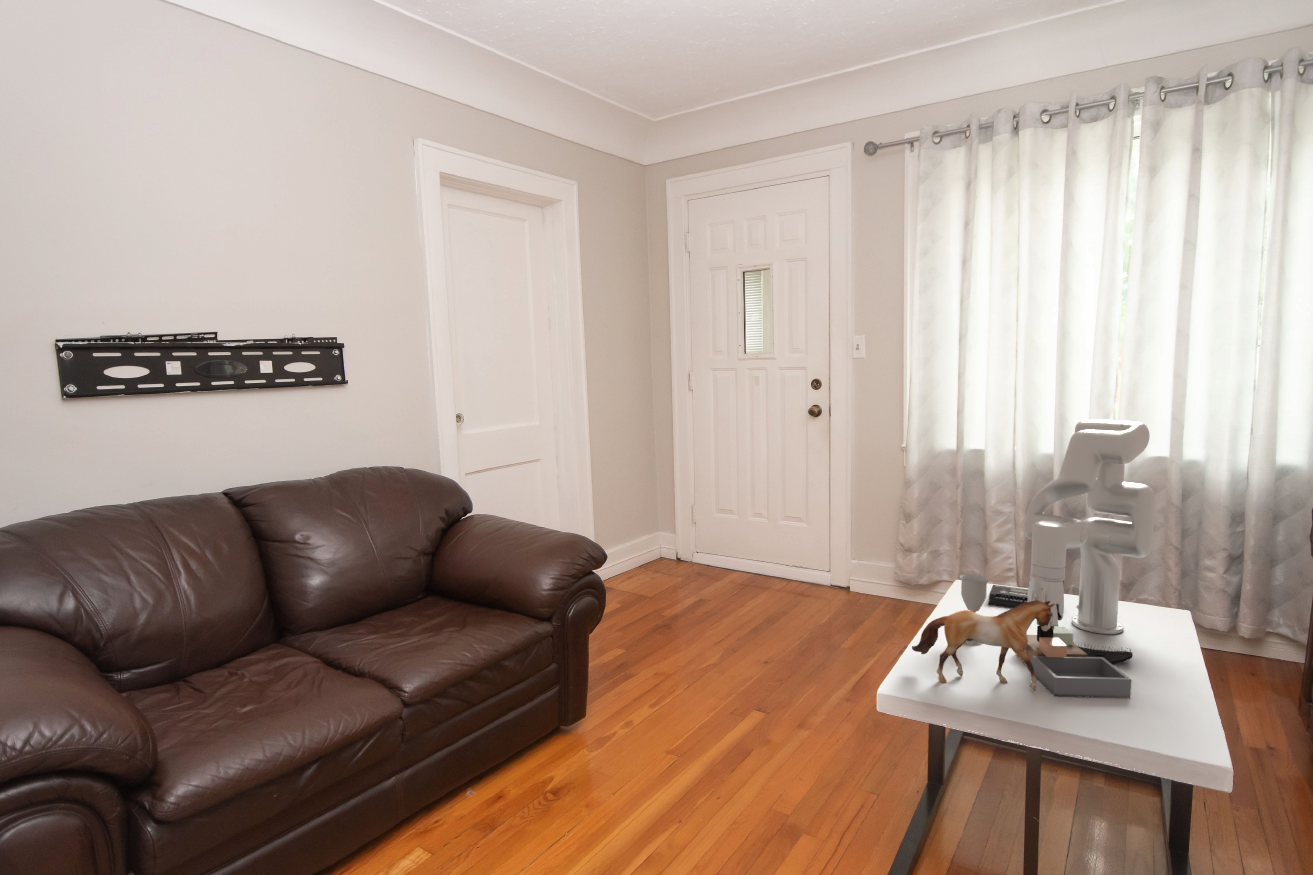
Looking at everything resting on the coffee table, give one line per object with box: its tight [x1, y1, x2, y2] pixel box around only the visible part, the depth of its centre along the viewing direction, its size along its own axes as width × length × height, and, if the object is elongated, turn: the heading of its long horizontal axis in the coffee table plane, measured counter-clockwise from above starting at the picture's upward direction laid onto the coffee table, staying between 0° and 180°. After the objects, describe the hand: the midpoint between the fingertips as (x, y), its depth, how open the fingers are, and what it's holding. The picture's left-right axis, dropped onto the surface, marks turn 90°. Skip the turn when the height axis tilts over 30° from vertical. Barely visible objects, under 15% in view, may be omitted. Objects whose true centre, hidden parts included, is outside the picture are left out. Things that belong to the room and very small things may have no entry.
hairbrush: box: [1073, 641, 1134, 665], centre depth 185 cm, size 8×4×25 cm
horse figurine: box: [911, 600, 1054, 692], centre depth 168 cm, size 31×8×21 cm, turn 72°
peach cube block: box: [1039, 637, 1067, 658], centre depth 172 cm, size 4×4×3 cm
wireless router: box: [988, 580, 1065, 609], centre depth 220 cm, size 20×14×17 cm
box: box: [1032, 656, 1132, 699], centre depth 166 cm, size 12×16×4 cm
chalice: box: [959, 573, 990, 646], centre depth 192 cm, size 7×7×18 cm
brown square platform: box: [1025, 634, 1087, 663], centre depth 178 cm, size 12×12×5 cm
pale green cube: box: [1053, 626, 1074, 645], centre depth 180 cm, size 4×4×3 cm
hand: (1044, 642), depth 176 cm, fingers closed
